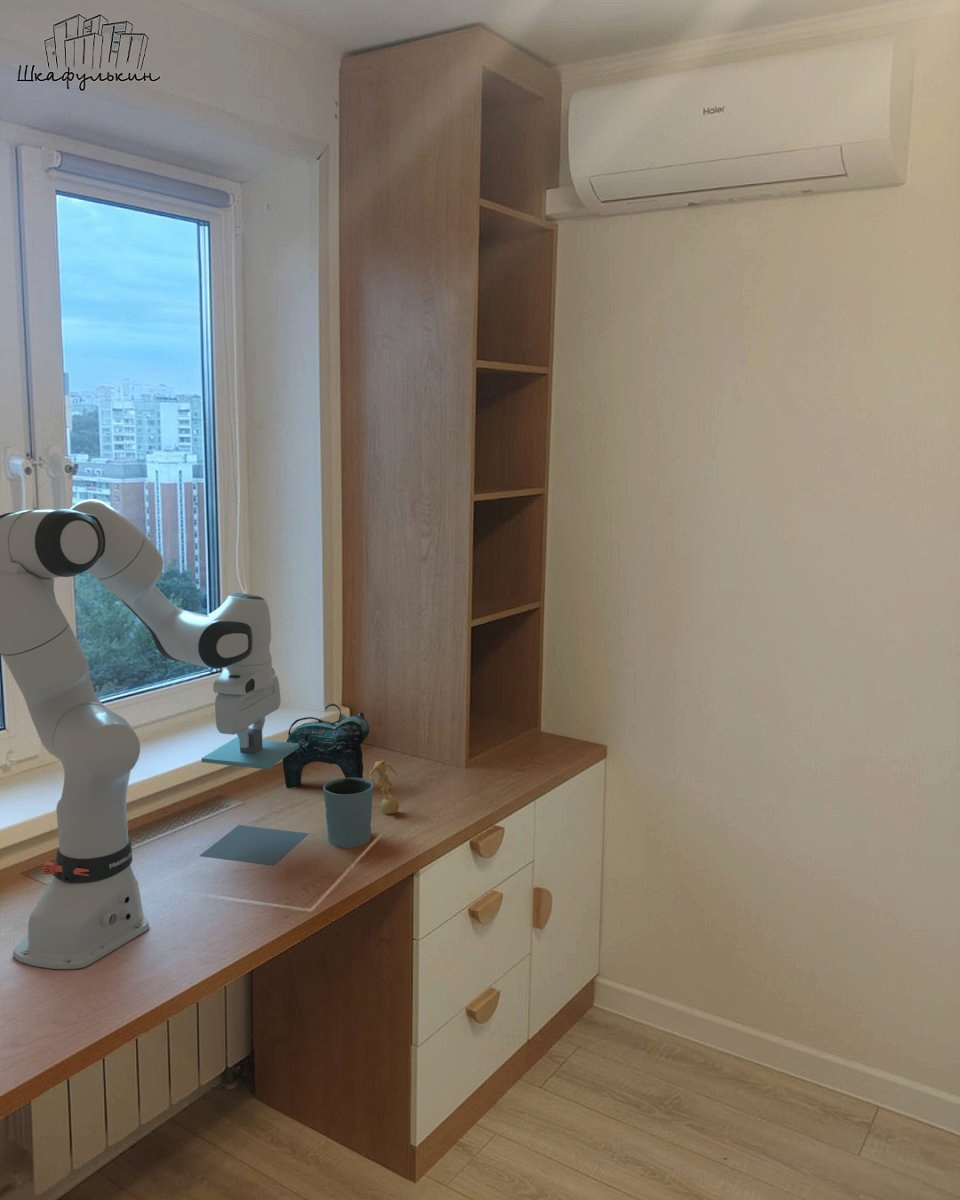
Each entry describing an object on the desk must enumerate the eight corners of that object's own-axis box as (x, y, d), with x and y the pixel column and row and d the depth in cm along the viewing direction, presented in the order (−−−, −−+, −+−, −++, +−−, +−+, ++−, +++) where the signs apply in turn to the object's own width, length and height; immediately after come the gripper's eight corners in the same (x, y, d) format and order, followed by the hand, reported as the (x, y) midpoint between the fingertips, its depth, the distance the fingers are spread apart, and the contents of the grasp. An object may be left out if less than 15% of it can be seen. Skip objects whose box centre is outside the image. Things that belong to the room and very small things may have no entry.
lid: (267, 769, 203) (266, 745, 202) (201, 762, 207) (200, 738, 206) (299, 747, 216) (298, 724, 216) (236, 740, 220) (236, 718, 219)
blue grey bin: (329, 854, 212) (328, 796, 210) (320, 834, 222) (318, 779, 219) (379, 847, 215) (378, 791, 213) (368, 828, 225) (367, 774, 223)
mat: (273, 868, 206) (273, 865, 206) (199, 858, 210) (199, 855, 210) (308, 836, 221) (308, 833, 221) (238, 827, 225) (238, 824, 225)
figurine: (383, 822, 228) (382, 768, 226) (363, 815, 232) (362, 762, 230) (409, 810, 235) (408, 758, 232) (388, 804, 238) (388, 752, 236)
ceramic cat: (371, 784, 251) (369, 701, 247) (365, 794, 244) (363, 709, 241) (288, 780, 253) (285, 698, 249) (280, 790, 246) (277, 706, 243)
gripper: (259, 662, 220) (260, 727, 222) (208, 686, 200) (210, 757, 203) (287, 664, 218) (288, 729, 220) (238, 689, 198) (240, 760, 201)
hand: (250, 743), depth 211 cm, fingers closed on lid, 3 cm apart
